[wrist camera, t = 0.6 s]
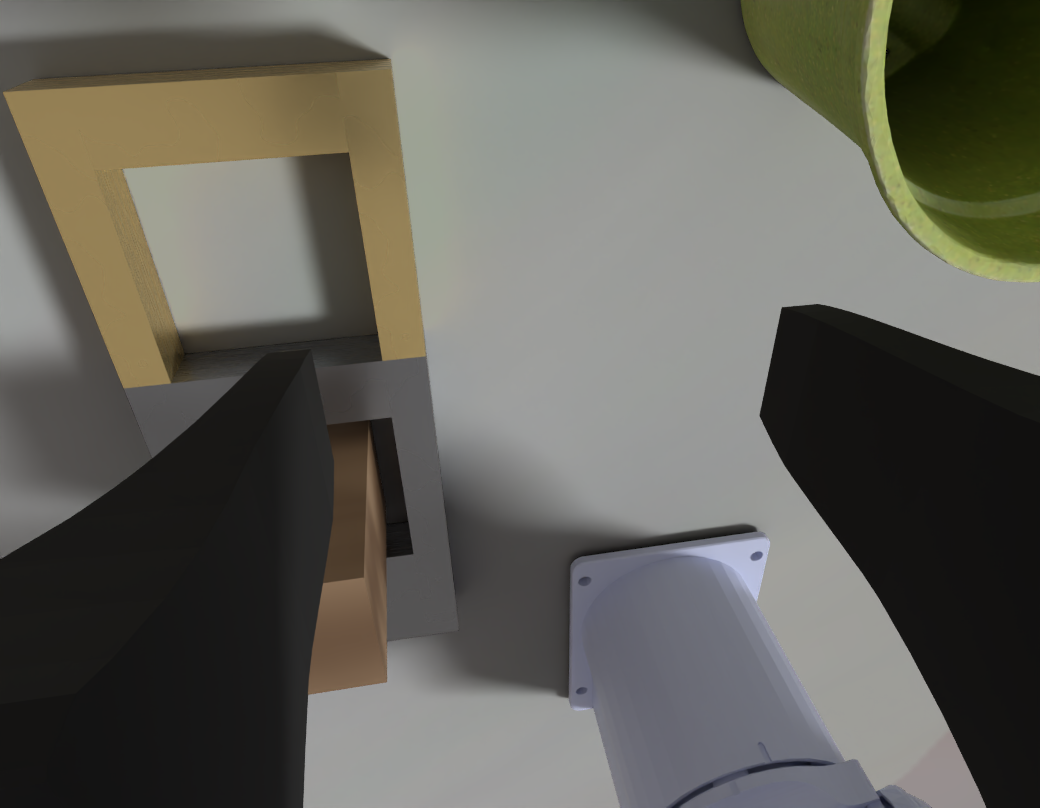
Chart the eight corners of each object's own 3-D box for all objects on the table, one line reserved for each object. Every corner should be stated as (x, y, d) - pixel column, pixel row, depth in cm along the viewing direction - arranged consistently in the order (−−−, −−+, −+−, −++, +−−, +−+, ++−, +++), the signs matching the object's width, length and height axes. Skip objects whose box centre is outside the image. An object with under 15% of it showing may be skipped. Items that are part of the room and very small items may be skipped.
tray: (455, 597, 27) (459, 630, 26) (243, 628, 27) (235, 664, 25) (390, 58, 17) (391, 68, 16) (33, 79, 16) (3, 92, 15)
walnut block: (386, 506, 24) (386, 682, 19) (267, 522, 24) (231, 706, 18) (369, 411, 22) (363, 577, 16) (238, 426, 22) (185, 602, 16)
